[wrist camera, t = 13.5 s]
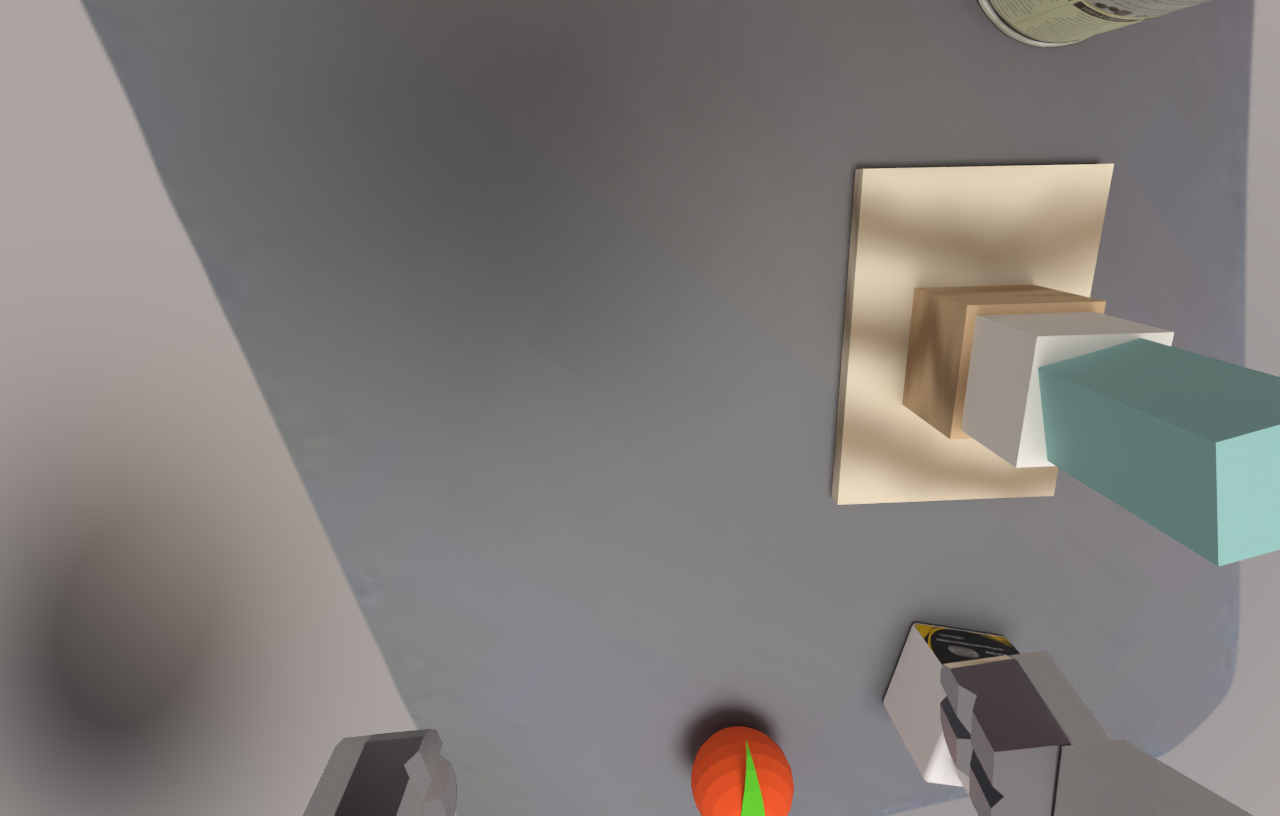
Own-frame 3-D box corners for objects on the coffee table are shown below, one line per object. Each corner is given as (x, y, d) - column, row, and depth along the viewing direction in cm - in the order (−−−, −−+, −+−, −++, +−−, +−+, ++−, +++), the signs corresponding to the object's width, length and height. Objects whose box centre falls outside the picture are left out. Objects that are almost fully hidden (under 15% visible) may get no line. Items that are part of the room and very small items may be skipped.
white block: (976, 315, 34) (1037, 336, 29) (1094, 311, 34) (1174, 332, 29) (960, 430, 36) (1015, 467, 31) (1073, 425, 36) (1145, 462, 31)
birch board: (855, 169, 38) (863, 168, 37) (1099, 164, 39) (1114, 163, 38) (831, 496, 44) (837, 504, 43) (1042, 487, 45) (1053, 495, 44)
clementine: (684, 695, 49) (697, 777, 42) (781, 688, 49) (810, 769, 42) (686, 783, 51) (699, 874, 44) (778, 776, 52) (805, 865, 45)
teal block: (1037, 368, 29) (1215, 442, 21) (1141, 338, 29) (1363, 400, 21) (1047, 460, 31) (1218, 566, 22) (1146, 432, 31) (1356, 528, 22)
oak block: (914, 287, 39) (967, 305, 34) (1033, 284, 40) (1106, 301, 34) (902, 404, 41) (950, 439, 36) (1015, 400, 42) (1080, 434, 36)
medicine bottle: (1006, 634, 49) (1130, 772, 37) (971, 716, 51) (1078, 869, 39) (912, 620, 48) (1009, 756, 36) (880, 703, 50) (962, 856, 38)
